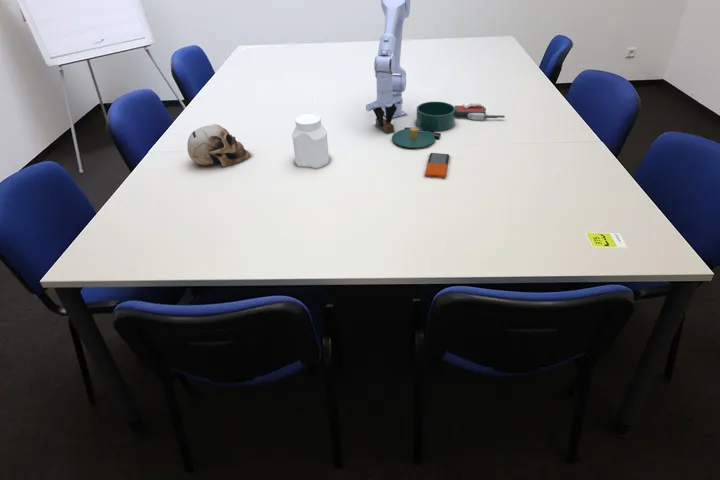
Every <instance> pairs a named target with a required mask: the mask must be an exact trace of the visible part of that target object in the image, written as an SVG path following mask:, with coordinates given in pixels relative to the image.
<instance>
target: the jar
mask: <svg viewBox="0 0 720 480" xmlns="http://www.w3.org/2000/svg"><path fill="white" fill-rule="evenodd" d="M294 122H295V127H294V129H293V131H292V132H291V138H292V143H293V144H292V145H293V152H294V162H295V164H296V166H297V167H300V168H301V167H303V168H304V167H305V168H307V167H308V168H313V169H319V168H322V167H325V166H326V165H327V164H328V163H329V162H330V155H329V144H328V131H327V129H326V128H325V127H324V126H323V124H322V118H321V116H320V115H318V114H316V113H315V114H313V113H305V114H301V115H299V116H297V117H296V118H295V120H294Z"/></svg>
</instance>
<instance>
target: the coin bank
mask: <svg viewBox="0 0 720 480" xmlns="http://www.w3.org/2000/svg"><path fill="white" fill-rule="evenodd" d="M236 139H237V138H236V136H234V135H232V134H230V132H229V130H227V129H226V128H224V127H222V126H221V125H219V124H217V123H213V124H209V125H204V126H201V127H199V128H196V129H195V130H194V131H192V132H191V134H189V136H188V139H187V147H186V148H187V154H188V156H189V158H190V159H191V161H193V162H195V163H196V164H198V165H200V166H205V167H210V166H214V165H217V164H220V165H221V167H224V168H225V167H227V166H233V165H236V164H239V163H243V162H245V161H246V160H247V159H248V158H251V153H250V152H249V150H246V149H245V147H244V144H242V142H240V141H238V140H236Z"/></svg>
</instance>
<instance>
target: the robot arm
mask: <svg viewBox="0 0 720 480" xmlns="http://www.w3.org/2000/svg"><path fill="white" fill-rule="evenodd" d="M380 5H381V9H382V12H383V15H384V18H385V19H384V32H383V33H384V34H383V35H381V36H380V37H379V45H378V50H377V56H375V57H374V61H373V62H374V63H373V68H374V76H375V77H374V78H376V100H375V101H372V102H370V103H368V104H365V110H366V111H367V112H372V111H373V113H374V115H375V118H377V120H378V124H379V126H380V127H383V118H384V117H385V119H386V120H387V121H388V122H390V123H391V124H392V120H393V118H397V117H398V118H399V117H401V116H406V112H404V111H403V110H402V109H403V108H402V106H403V104H404V103H403V101H404V99H403V93H404V92H405V91H406V89H407V88H406V87H407V72H406V70H405V69H404V68H403V67H402V66H401V55H402V54H401V53H402V42H403V40H402V39H403V28H404V22H405V19H407V18H409V17H410V12H411V0H381V1H380Z"/></svg>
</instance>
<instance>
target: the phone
mask: <svg viewBox="0 0 720 480" xmlns="http://www.w3.org/2000/svg"><path fill="white" fill-rule="evenodd" d="M449 160H450V154H449V153H441V152H430V154H429V157H428V161H427V164H426V168H425V172H424V176H425V177H427V178H428V177H429V178H440V179H445V178H446V175H447V171H448V165H449Z"/></svg>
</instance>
